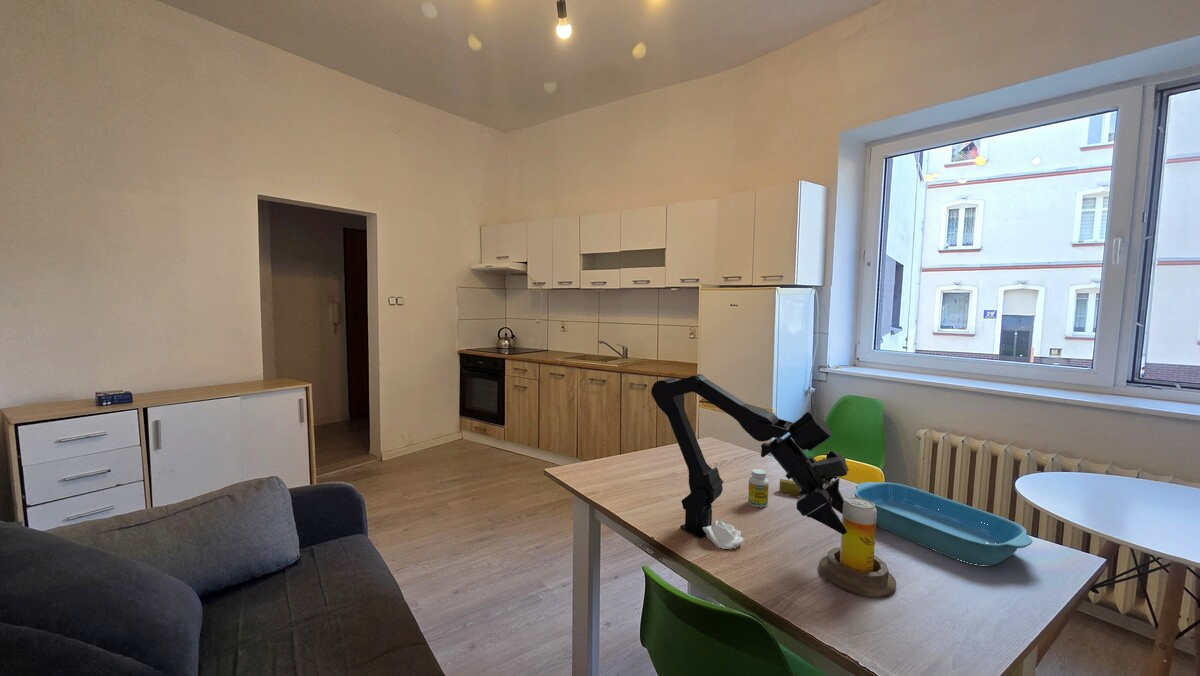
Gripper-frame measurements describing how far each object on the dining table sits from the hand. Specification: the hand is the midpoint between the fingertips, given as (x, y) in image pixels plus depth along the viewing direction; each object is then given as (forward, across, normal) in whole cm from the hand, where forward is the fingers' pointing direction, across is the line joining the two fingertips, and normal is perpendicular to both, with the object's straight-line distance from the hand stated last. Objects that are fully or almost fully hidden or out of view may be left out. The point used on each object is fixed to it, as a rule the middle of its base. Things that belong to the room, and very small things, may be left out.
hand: (847, 524), depth 96 cm
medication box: (-3, +39, +19) cm, 43 cm away
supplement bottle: (-9, +25, +25) cm, 36 cm away
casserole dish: (+19, +33, -4) cm, 38 cm away
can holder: (+9, 0, +6) cm, 11 cm away
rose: (-10, -1, +26) cm, 28 cm away
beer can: (+8, 0, +6) cm, 10 cm away
